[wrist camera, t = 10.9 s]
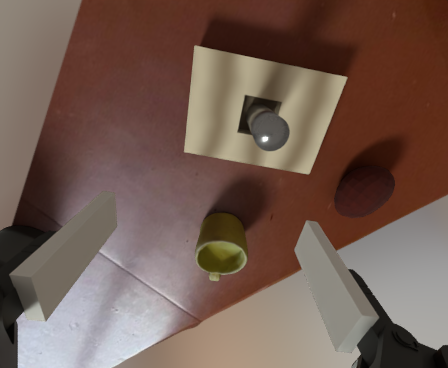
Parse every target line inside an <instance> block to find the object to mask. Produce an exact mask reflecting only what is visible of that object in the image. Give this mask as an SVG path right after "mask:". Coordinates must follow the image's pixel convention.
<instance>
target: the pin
mask: <svg viewBox="0 0 448 368" xmlns="http://www.w3.org/2000/svg"><path fill="white" fill-rule="evenodd" d="M246 121H247V123H248V126H249V128H250V131H251V133H252V136H253V138H254V141H255V143H256V145H257V146H258V147H259V148H261V149H262V150H265V151H276V150H278V149H280V148H281V147H283V146H284V145H285V144H286V142H287V140H288V138H289V134H290V130H289V126H288V124H287V122H286V121H285V120H284V119H283V118H281V117H280V116H279V115H277V114H276V113H274V112H273V111H272V110H270V109H269V108H268V107H266V106H265V105H263V104H254V105H252V106H251V107H249V109H248V110H247V112H246Z"/></svg>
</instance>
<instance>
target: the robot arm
mask: <svg viewBox="0 0 448 368" xmlns="http://www.w3.org/2000/svg"><path fill="white" fill-rule="evenodd" d="M116 227H117V215H116V201H115V193H114V192H107V191H102V192H101V193H100V194H99V195H98V196H97V197H96V198H95V199H93V200H92V201H91V202H90V203H89V204H88V205H87V206H86V207H84V208H83V209H82V210H81V211H80V212H79V213H78V214H77V215H75V216H74V217H73V218H72V219H71V220H70V221H69V222H68V223H66V224H65V225H64V226H63V227H62V228H61V229H60V230H59V231H58V232H56V231H48V232H46V233H44V232H42V231H39V230H37V229H34V228H31V227H27V226H9V227H6V228H4V229H2V230H1V231H0V368H18V324H17V322H16V319H17V318H18V317H19V316H20V315H21V314H22V313H23V311H24V313H25V316H26V318H27V320H35V321H45V322H46V321H47V319H48V318H49V317H50V315H51V314H52V313H53V311H54V310H55V309H56V307H57V306H58V305H59V303H60V302H61V301H62V299H63V298H64V297H65V295H66V294H67V293H68V291H69V290H70V289H71V287H72V286H73V285H74V283H75V282H76V281H77V279H78V278H79V277H80V275H81V274H82V273H83V271H84V270H85V269H86V267H87V266H88V265H89V263H90V262H91V261H92V259H93V258H94V257H95V255H96V254H97V253H98V251H99V250H100V249H101V247H102V246H103V245H104V243H105V242H106V241H107V239H108V238H109V237H110V235H111V234H112V233H113V231H114V230H115V229H116ZM295 253H296V255H297V258H298V260H299V263H300V265H301V268H302V270H303V272H304V275H305V277H306V280H307V282H308V285H309V287H310V290H311V292H312V294H313V297H314V299H315V302H316V304H317V307H318V309H319V311H320V314H321V316H322V319H323V321H324V324H325V326H326V329H327V331H328V333H329V336H330V338H331V341H332V343H333V346H334V348H335V351H337V352H347V353H352V351H353V350H354V349H355V348H356V346H357V347H358V349H359V351H360V352H361V355H360V356H359V358H358V359H357V360H356V361H355V362H354V363H353V365H352V368H355V367H356V366H357V367H356V368H448V345H443V346H442V347H441V348H440V349H439V350H435V349H433V348H430V347H428V346H425V345H423V344H420V343H418V341H417V340H416V339H415V338H414V337H413V336H412V334H411V333H410V332H408V331H407V330H406V329H404V328H403V327H401V326H399V325H397V324H394V323H393V322H392V321H391V319H390V318H389V316H388V315H387V313H386V312H385V311H384V309H383V308H382V306H381V305H380V303H379V302H378V300H377V299H376V298H375V296H374V295H373V293H372V292H371V290H370V289H369V288H368V286H367V285H366V283H365V282H364V280H363V279H362V278H361V277H360V276H359V275H358V274H357V273H356V272H355V271H354V270H351V269H347V267H346V266H345V264H344V263H343V261H342V259H341V258H340V256H339V255H338V253H337V252H336V250H335V249H334V247H333V246H332V244H331V243H330V241H329V240H328V238H327V237H326V235H325V233H324V232H323V230H322V229H321V227H320V226H319V224H318V223H317V222H314V221H306V223H305V225H304V228H303V230H302V233H301V235H300V238H299V240H298V242H297V245H296V247H295Z"/></svg>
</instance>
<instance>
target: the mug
mask: <svg viewBox="0 0 448 368" xmlns="http://www.w3.org/2000/svg"><path fill="white" fill-rule="evenodd" d="M195 260H196V263H197V265H198V266H199V267H200V268H201V269H202V270H204V271H206V272H209V279H210V280H213V281H218V280H219V279H220V275H221V274H223V275H225V274H231V273H235V272H237V271H239V270H241V269H242V268H243V267H244V266H245V265H246V263H247V260H248V249H247V242H246V237H245V232H244V228H243V225H242V223H241V221H240V220H239V219H238V218H237V217H235V216H234V215H232V214H229V213H224V212H222V213H214V214H212V215H209V216H208V217H206V218H205V220H204V221H203V223H202V225H201V228H200V235H199V238H198V242H197V245H196V249H195Z"/></svg>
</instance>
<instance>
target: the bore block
mask: <svg viewBox="0 0 448 368" xmlns="http://www.w3.org/2000/svg"><path fill="white" fill-rule="evenodd" d="M346 80H347V77H344V76H339V75H334V74H330V73H325V72H320V71H315V70H310V69H305V68H301V67H296V66H291V65H286V64H281V63H277V62H272V61H267V60H262V59H257V58H252V57H248V56H243V55H238V54H233V53H228V52H224V51H219V50H214V49H209V48H204V47H200V46H195V47H194V57H193V67H192V78H191V88H190V98H189V108H188V118H187V128H186V139H185V149H184V152H187V153H193V154H198V155H204V156H209V157H215V158H220V159H226V160H232V161H237V162H243V163H248V164H254V165H259V166H265V167H271V168H276V169H282V170H287V171H293V172H298V173H304V174H310V171H311V169H312V166H313V164H314V161H315V158H316V156H317V153H318V151H319V148H320V146H321V143H322V141H323V138H324V136H325V133H326V131H327V128H328V125H329V123H330V120H331V118H332V115H333V113H334V110H335V108H336V105H337V103H338V100H339V98H340V95H341V93H342V90H343V87H344V85H345V82H346ZM254 104H263V105H265V106H266V107H268V108H269V109H270V110H272V111H273V112H274V113H276V114H277V115H279V116H280V117H281V118H283V119H284V120H285V121H286V122H287V124H288V126H289V130H290V134H289V138H288V140H287V142H286V144H285V145H284V146H283V147H281V148H280V149H278V150H276V151H265V150H262V149H261V148H259V147H258V146H257V145H256V143H255V141H254V138H253V136H252V133H251V131H250V128H249V126H248V123H247V121H246V112H247V110H248V109H249V107H251V106H252V105H254Z"/></svg>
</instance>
